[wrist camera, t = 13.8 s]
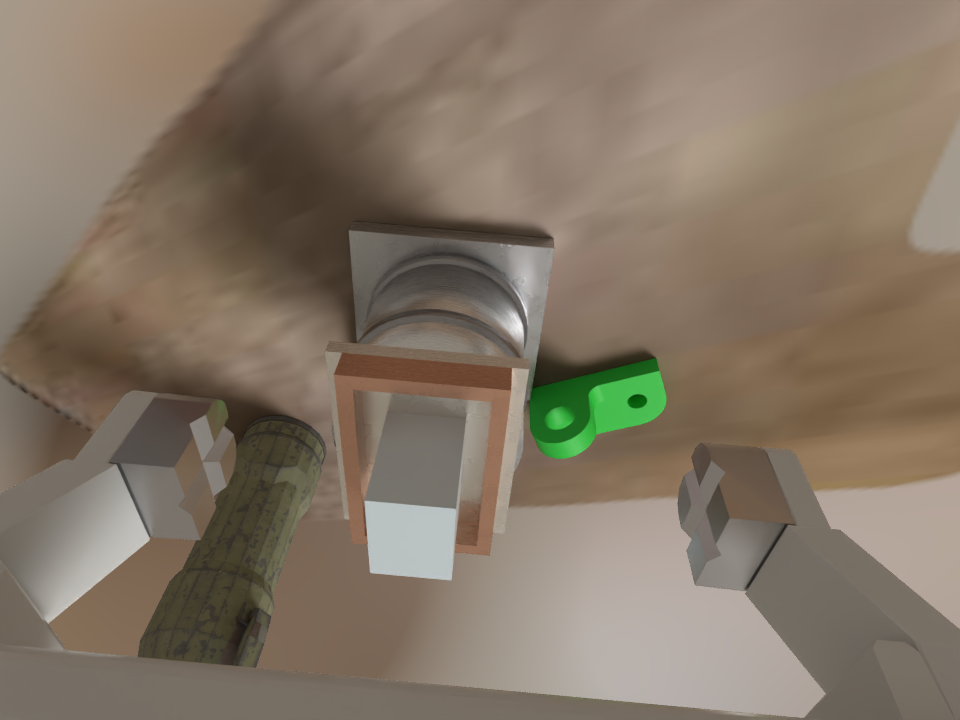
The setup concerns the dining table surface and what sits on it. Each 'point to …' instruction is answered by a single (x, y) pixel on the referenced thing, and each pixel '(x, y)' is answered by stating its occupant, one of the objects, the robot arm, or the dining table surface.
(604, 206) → the dining table surface
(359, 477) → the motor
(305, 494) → the thermos
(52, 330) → the dining table surface
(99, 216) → the dining table surface
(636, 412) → the mechanical part
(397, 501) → the pale grey rectangular block
